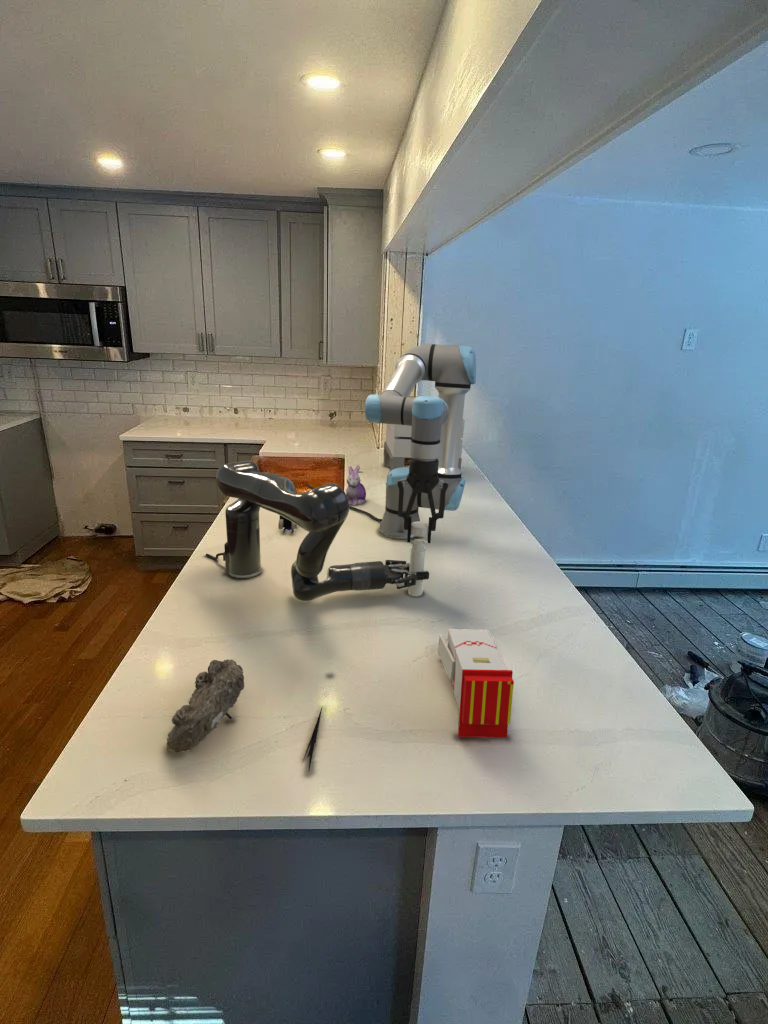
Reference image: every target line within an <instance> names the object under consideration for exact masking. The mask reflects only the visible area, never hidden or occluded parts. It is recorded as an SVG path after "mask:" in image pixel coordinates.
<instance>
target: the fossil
mask: <svg viewBox="0 0 768 1024" xmlns="http://www.w3.org/2000/svg"><path fill="white" fill-rule="evenodd" d="M243 670H244V669H243V667H242V665H240V664H237V662H236V661H235V660H234V659H232V658H231V659H227V658H226V659H224V660H223V661H222V660H217V659H212V660H211V661H210V663H209V665H208V666H207V671H201V672H199V673H198V674H197V675H196V676H195V680H194V684H195V685H194V687H195V689H194V690H193V693H192V694H191V697H190V698H189V700H188V704H184V705H182V706H181V707H180V709H177V710H176V711H175V713H174V715H173V716H172V718H171V723H172V724H173V727H172V730H171V731H170V732H168V734H167V738H166V741H167V742H166V745H167V749H168V750H169V751H173V752H174V753H176V754H178V753H182V752H188V751H189V752H192V751H193V750H195V748H196V747H197V746H199V744H200V743H201V742H203V741H204V740H205V739H206V738H207V737H208V736H209V735H210V734H211V733H212V732H214V730H215V729H217V727H218V726H219V724H220V722H221V721H222V720H223V719H224V718H225V716H226V717H227V719H229V720H233V717H232V715H230V714H229V710H230V709H231V708H234V706H235V704H236V703H237V702H238V699H239V697H240V695H241V693H242V691H243V690H245V689H244V688H245V675H244V671H243Z"/></svg>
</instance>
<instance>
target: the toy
mask: <svg viewBox="0 0 768 1024" xmlns="http://www.w3.org/2000/svg"><path fill="white" fill-rule="evenodd" d="M446 640H447V643H446V641H445V639H444V636H443V635H442V634H439V637H438V646H437V656H438V657H439V659H440V661H441V663H442V666H443V668H444V670H445V672H446V674H447V677H448V679H449V681H450V684H451V687H452V690H453V693H454V697H455V701H456V705H457V708H458V711H459V714H458V715H459V716H458V730H457V731H458V732H457V737H458V738H508V731H509V726H510V725H511V717H512V707H513V697H514V696H513V695H514V684H515V680H514V679H513V673H514V671H513V670H512V669H508V667H507V665H506V662H505V661H504V659H503V658H502V655H501V653H500V651H499V649H498V647H497V643H496V639H495V637H494V635H493V634H491V632H490V631H489V629H467V628H466V629H465V628H463V629H461V628H460V629H459V628H448V630H447V639H446Z"/></svg>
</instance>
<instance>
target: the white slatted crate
mask: <svg viewBox="0 0 768 1024" xmlns="http://www.w3.org/2000/svg"><path fill="white" fill-rule="evenodd" d="M409 397H411V398H416V397H418V396H415V395H414V396H413V395H412V396H411V395H410V396H409ZM464 429H465V419H464V418H463V420H462V430H461V441H460V451H459V461H458V468H459V469H460V470H461V471H462V461H463V460H462V453H463V442H464V441H463V440H462V439H463V438H464V431H465V430H464ZM411 431H412V426H407V425H397V424H386V428H385V438H384V442H383V466H384V467H388V468H389V472H390V471H391V470H393V469H396V468H401V467H405V466H406V467H409V463H410V458H411V456H410V445H411Z"/></svg>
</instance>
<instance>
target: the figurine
mask: <svg viewBox="0 0 768 1024" xmlns="http://www.w3.org/2000/svg"><path fill="white" fill-rule="evenodd" d="M360 468H361V466H360V465H359V464H358V465H356V466H355V468H353V466H352V465H349V466H348V476H347V478H346V484H347V487H346V490H345V493H346V495H347V498H348V501H349V506H356V505H361V504H364V503H365V502H366V498H367V491H366V488H365V486H364V484H362V483H361V481H362V480H361V478H360V475H359V473H360Z"/></svg>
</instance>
